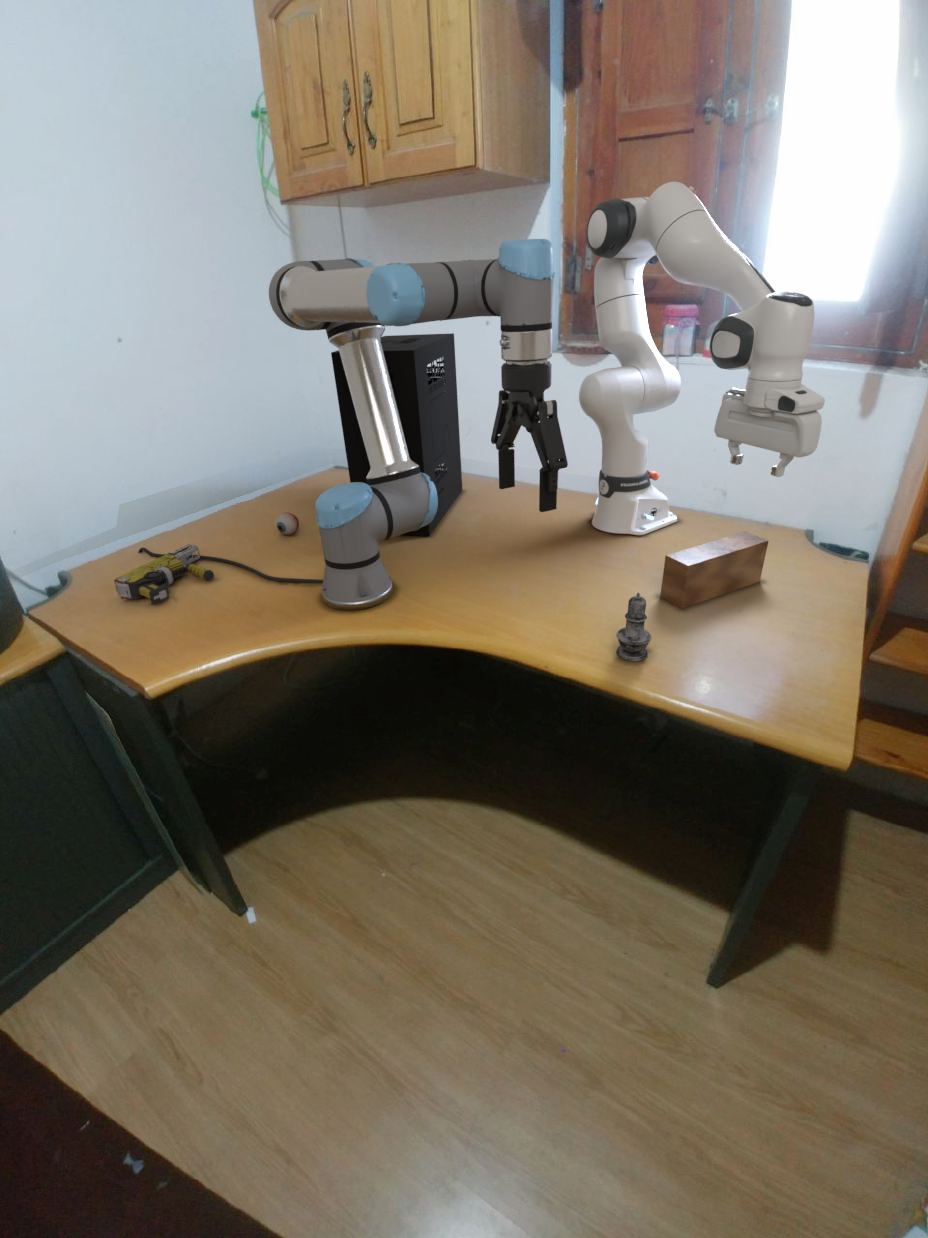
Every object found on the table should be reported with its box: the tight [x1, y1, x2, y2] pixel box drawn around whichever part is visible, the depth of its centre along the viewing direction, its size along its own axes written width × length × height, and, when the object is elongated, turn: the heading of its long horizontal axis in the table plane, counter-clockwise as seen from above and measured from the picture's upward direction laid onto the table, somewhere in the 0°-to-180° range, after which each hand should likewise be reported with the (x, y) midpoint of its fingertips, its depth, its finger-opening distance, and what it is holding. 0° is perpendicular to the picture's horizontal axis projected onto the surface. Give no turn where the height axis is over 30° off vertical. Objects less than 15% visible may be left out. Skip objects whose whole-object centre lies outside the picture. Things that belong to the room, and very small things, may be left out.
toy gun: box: [113, 543, 215, 606], centre depth 141 cm, size 5×24×15 cm
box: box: [660, 531, 769, 610], centre depth 123 cm, size 22×6×9 cm, turn 117°
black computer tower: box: [330, 332, 463, 537], centre depth 165 cm, size 38×20×45 cm, turn 167°
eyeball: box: [275, 511, 300, 536], centre depth 163 cm, size 6×6×6 cm
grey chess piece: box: [616, 592, 652, 662], centre depth 103 cm, size 6×6×12 cm
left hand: (526, 498), depth 101 cm, fingers open, 13 cm apart
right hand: (755, 469), depth 116 cm, fingers open, 8 cm apart
